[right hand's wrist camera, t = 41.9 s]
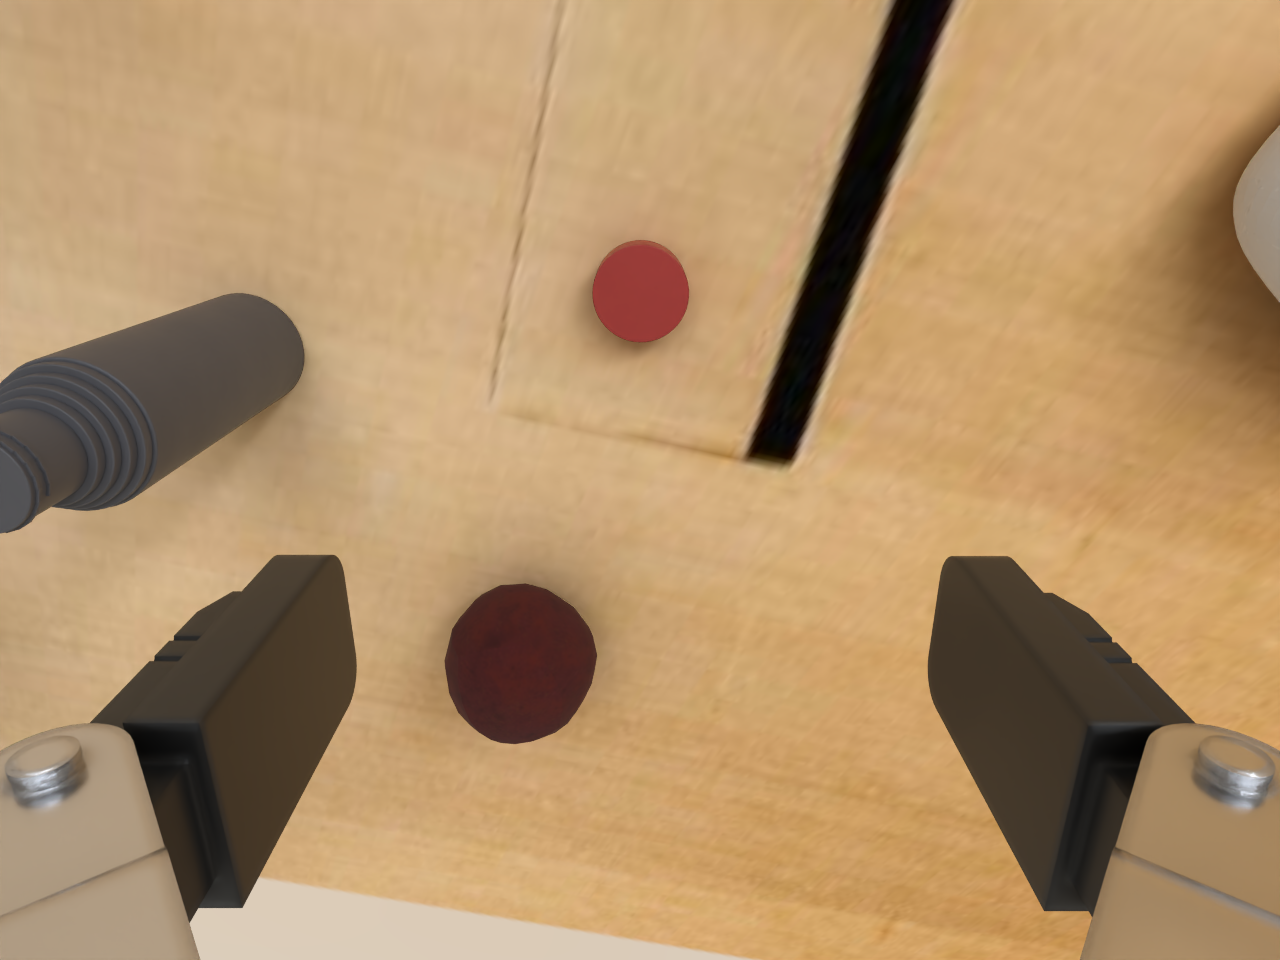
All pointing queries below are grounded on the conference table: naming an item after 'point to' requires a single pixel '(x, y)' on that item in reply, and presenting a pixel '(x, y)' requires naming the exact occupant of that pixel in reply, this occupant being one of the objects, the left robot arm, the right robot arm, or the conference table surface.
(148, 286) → the conference table surface
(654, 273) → the cap
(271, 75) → the conference table surface
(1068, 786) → the right robot arm
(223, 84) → the conference table surface
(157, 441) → the bottle
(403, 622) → the conference table surface
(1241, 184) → the white rounded slotted device
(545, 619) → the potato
